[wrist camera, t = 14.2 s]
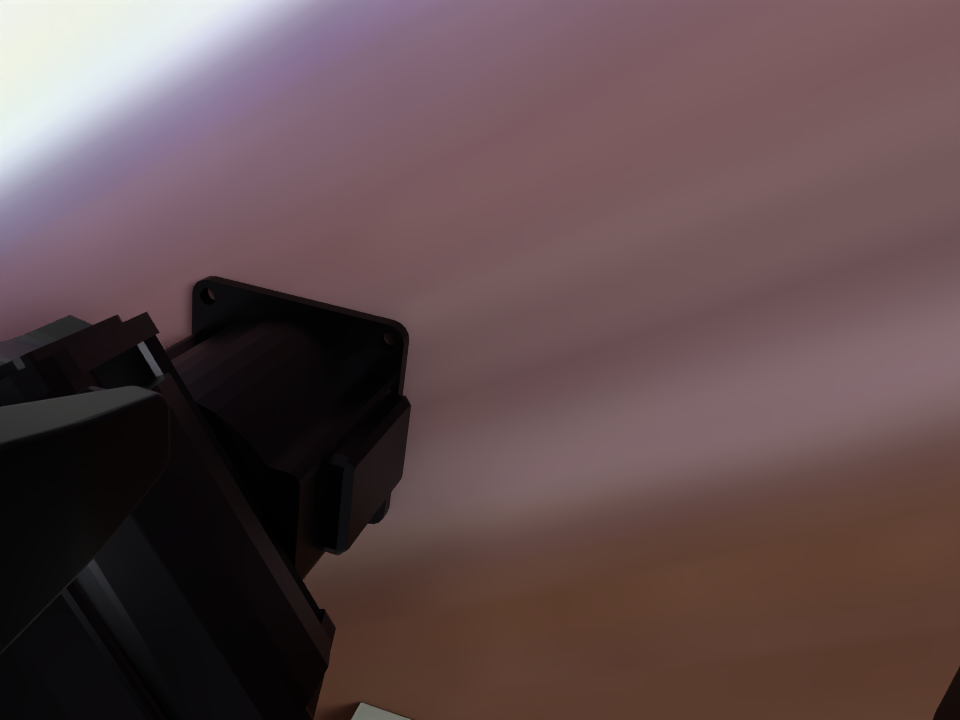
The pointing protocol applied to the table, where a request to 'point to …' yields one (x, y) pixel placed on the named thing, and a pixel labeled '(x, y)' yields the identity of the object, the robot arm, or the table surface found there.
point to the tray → (374, 714)
